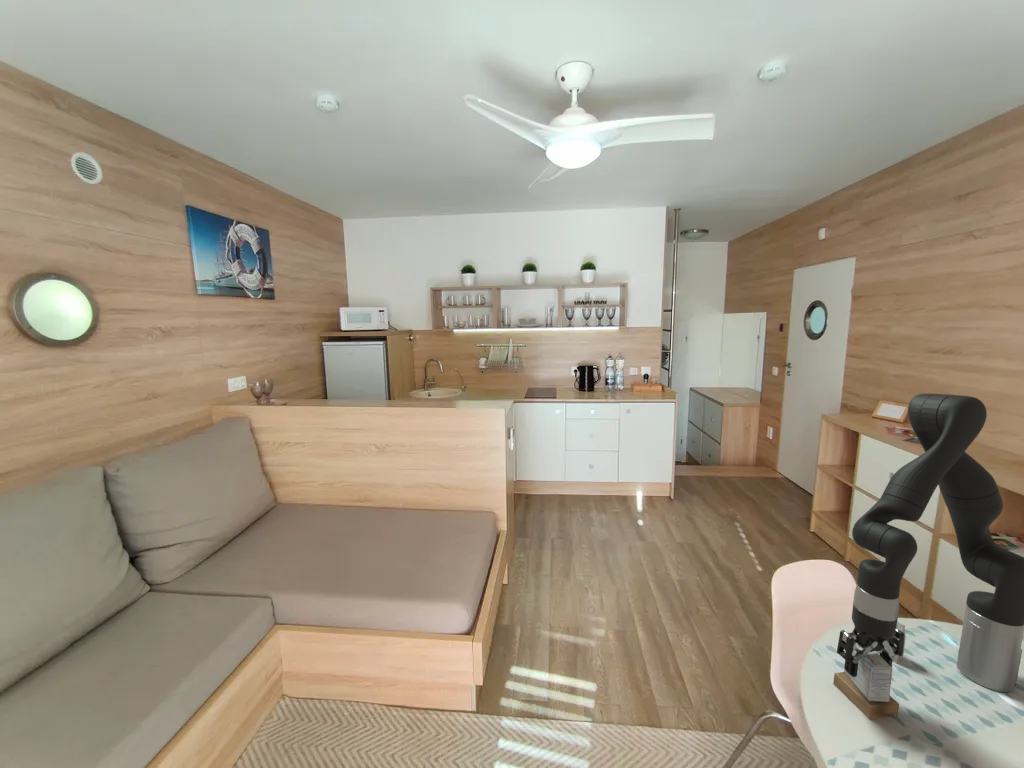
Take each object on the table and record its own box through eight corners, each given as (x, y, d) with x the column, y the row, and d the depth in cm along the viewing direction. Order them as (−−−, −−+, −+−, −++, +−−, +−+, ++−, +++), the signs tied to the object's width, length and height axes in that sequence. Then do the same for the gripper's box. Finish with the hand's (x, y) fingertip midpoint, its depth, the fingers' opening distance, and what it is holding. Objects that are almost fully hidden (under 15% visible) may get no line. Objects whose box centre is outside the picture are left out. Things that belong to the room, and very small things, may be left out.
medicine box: (889, 703, 90) (894, 668, 89) (868, 701, 91) (872, 667, 90) (862, 673, 98) (866, 641, 97) (843, 672, 98) (846, 639, 97)
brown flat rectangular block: (859, 681, 100) (860, 669, 99) (897, 715, 91) (899, 703, 90) (833, 684, 99) (834, 672, 98) (869, 719, 90) (870, 706, 89)
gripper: (886, 594, 96) (878, 656, 98) (831, 599, 94) (825, 662, 97) (921, 616, 89) (912, 682, 91) (862, 622, 87) (854, 689, 89)
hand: (867, 672), depth 94 cm, fingers open, 8 cm apart
